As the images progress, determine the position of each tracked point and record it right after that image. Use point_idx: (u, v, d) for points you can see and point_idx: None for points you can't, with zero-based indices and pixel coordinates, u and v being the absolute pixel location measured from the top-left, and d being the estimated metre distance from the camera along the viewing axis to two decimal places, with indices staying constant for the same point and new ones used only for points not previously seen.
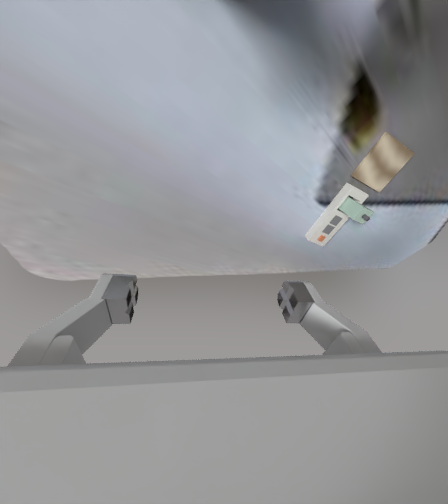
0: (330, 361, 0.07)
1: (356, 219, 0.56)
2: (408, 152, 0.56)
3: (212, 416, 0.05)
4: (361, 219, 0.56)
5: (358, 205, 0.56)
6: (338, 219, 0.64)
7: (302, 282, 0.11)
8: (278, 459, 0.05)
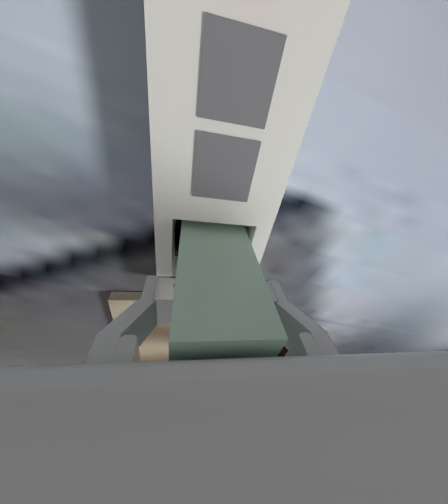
0: (330, 362, 0.07)
1: (263, 346, 0.07)
2: None
3: (212, 415, 0.05)
4: (220, 355, 0.07)
5: None
6: (213, 182, 0.10)
7: (269, 281, 0.11)
8: (278, 459, 0.05)
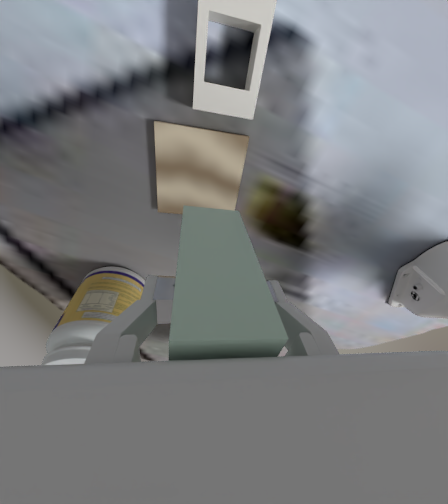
0: (330, 361, 0.07)
1: (263, 345, 0.07)
2: (171, 209, 0.31)
3: (212, 415, 0.05)
4: (220, 355, 0.07)
5: None
6: None
7: (269, 281, 0.11)
8: (278, 459, 0.05)
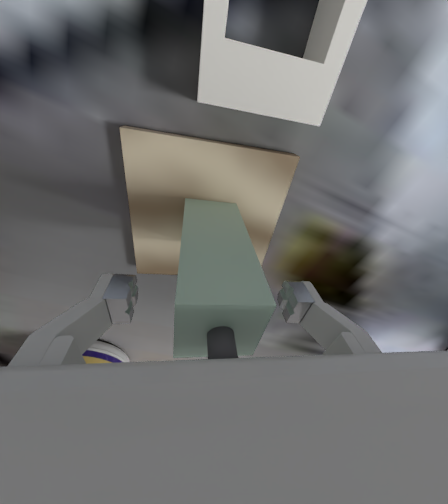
0: (330, 361, 0.07)
1: (255, 312, 0.08)
2: (159, 269, 0.19)
3: (212, 415, 0.05)
4: (218, 320, 0.08)
5: None
6: None
7: (302, 282, 0.11)
8: (278, 459, 0.05)
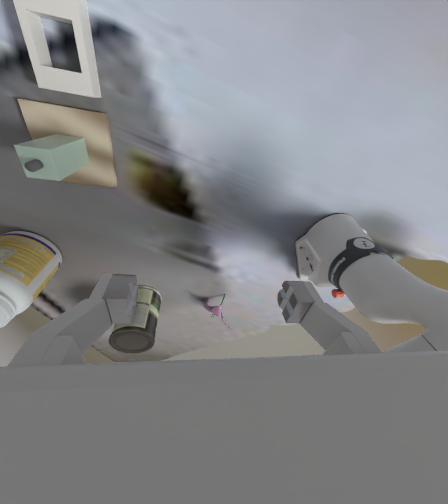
0: (330, 362, 0.07)
1: (44, 152, 0.26)
2: None
3: (212, 416, 0.05)
4: (33, 155, 0.26)
5: (66, 173, 0.30)
6: None
7: (302, 282, 0.11)
8: (279, 459, 0.05)
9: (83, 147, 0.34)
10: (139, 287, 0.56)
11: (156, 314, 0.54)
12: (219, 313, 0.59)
